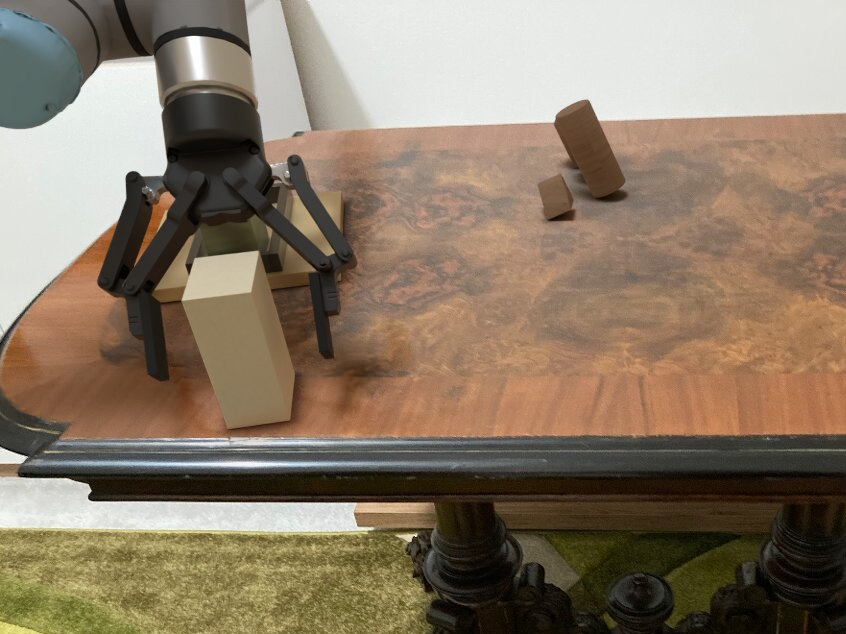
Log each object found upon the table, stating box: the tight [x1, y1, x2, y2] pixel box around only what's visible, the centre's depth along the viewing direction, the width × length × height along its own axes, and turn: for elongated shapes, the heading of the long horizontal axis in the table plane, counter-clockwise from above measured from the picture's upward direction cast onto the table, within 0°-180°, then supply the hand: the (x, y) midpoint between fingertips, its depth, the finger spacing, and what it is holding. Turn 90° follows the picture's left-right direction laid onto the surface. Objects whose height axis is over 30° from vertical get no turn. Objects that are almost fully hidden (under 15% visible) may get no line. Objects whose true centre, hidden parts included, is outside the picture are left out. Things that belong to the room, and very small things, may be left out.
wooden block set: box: [536, 99, 626, 220], centre depth 108 cm, size 18×9×10 cm, turn 176°
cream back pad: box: [181, 251, 296, 430], centre depth 74 cm, size 5×7×12 cm
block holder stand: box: [152, 182, 345, 304], centre depth 97 cm, size 20×20×14 cm
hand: (243, 366), depth 73 cm, fingers open, 12 cm apart
